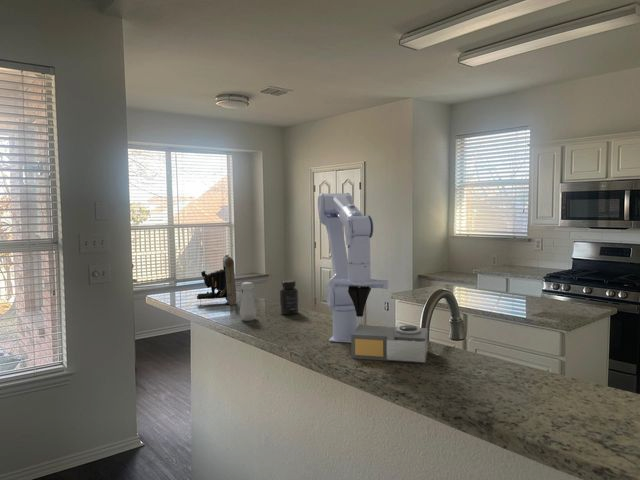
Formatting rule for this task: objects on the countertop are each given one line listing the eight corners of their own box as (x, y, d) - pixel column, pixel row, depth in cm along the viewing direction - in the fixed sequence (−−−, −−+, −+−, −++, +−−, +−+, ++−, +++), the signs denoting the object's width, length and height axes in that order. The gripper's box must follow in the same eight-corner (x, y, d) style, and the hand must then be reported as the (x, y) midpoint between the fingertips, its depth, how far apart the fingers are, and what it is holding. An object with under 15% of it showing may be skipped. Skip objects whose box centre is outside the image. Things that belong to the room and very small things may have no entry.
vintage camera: (197, 304, 193) (193, 257, 192) (234, 300, 198) (231, 254, 196) (198, 309, 184) (194, 260, 182) (237, 305, 189) (234, 256, 187)
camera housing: (359, 347, 125) (359, 321, 125) (427, 351, 120) (427, 324, 120) (351, 358, 115) (350, 330, 115) (425, 363, 110) (424, 334, 110)
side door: (387, 358, 113) (386, 326, 112) (425, 360, 110) (424, 328, 110) (386, 359, 112) (386, 327, 111) (424, 362, 109) (424, 329, 109)
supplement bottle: (278, 312, 172) (277, 280, 171) (295, 310, 175) (294, 279, 174) (283, 316, 166) (282, 283, 165) (301, 314, 168) (300, 281, 167)
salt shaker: (258, 320, 160) (257, 283, 159) (241, 322, 158) (240, 284, 157) (254, 316, 165) (253, 280, 165) (238, 318, 163) (237, 282, 163)
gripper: (327, 264, 116) (328, 318, 117) (385, 265, 112) (386, 320, 113) (334, 261, 123) (335, 312, 124) (389, 262, 119) (389, 314, 119)
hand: (360, 315), depth 119 cm, fingers closed
